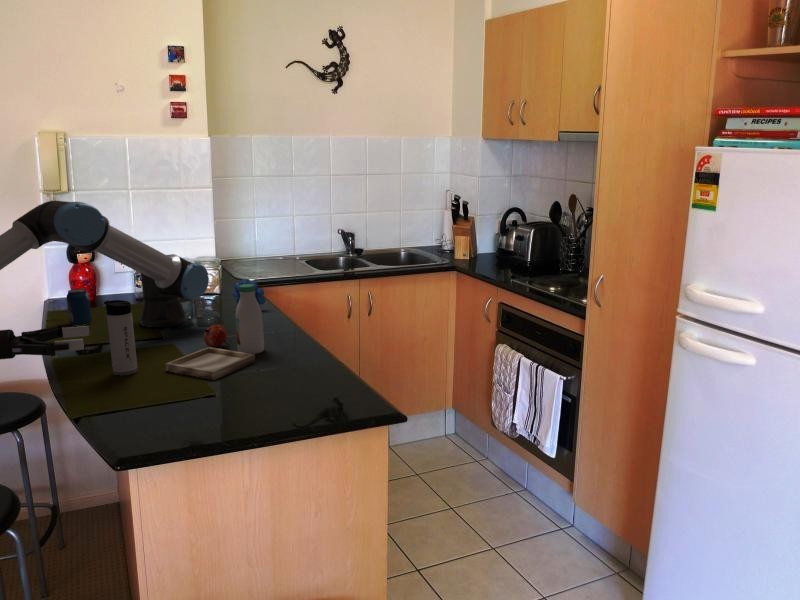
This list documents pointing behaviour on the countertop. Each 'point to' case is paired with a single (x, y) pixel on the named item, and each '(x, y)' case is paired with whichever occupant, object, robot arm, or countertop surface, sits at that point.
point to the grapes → (258, 292)
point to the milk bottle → (249, 322)
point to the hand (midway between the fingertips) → (86, 337)
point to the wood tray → (210, 363)
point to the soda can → (78, 307)
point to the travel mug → (121, 337)
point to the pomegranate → (215, 336)
